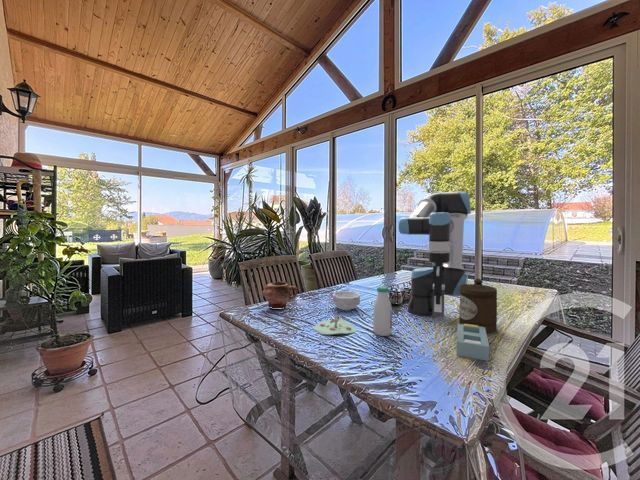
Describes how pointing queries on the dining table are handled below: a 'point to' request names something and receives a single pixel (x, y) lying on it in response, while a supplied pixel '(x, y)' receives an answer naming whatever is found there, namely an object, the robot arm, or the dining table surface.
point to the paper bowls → (346, 300)
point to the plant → (334, 327)
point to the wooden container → (478, 305)
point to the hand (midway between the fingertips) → (438, 309)
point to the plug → (439, 314)
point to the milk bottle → (382, 313)
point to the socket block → (472, 342)
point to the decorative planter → (278, 294)
